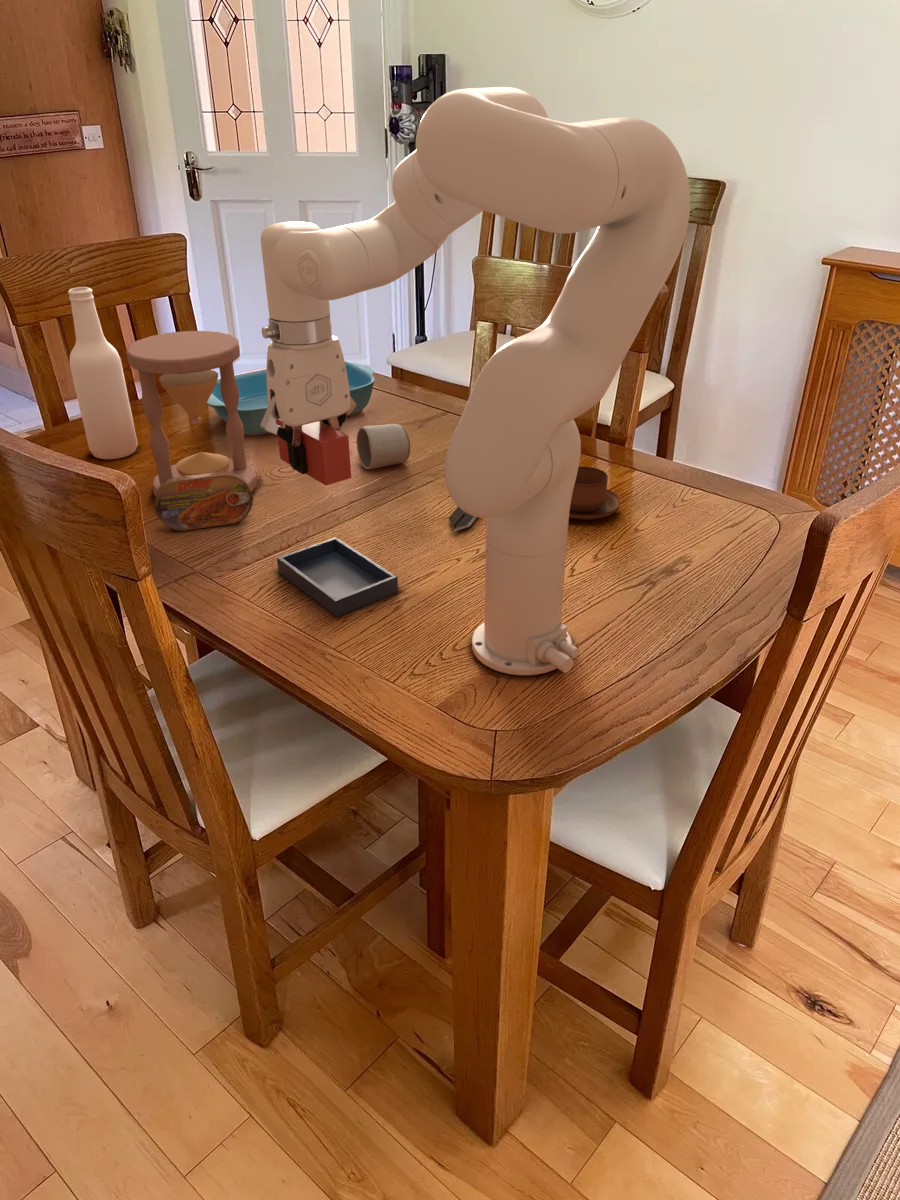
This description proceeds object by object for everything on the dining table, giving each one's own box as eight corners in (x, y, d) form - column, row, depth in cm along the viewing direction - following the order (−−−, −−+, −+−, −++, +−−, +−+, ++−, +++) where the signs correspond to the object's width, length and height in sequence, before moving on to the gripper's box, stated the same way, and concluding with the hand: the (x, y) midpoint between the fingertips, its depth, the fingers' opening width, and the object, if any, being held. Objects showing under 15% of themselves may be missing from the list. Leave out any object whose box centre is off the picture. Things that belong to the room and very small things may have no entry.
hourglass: (249, 462, 164) (230, 326, 151) (265, 500, 150) (247, 353, 137) (150, 476, 159) (122, 336, 146) (158, 516, 145) (128, 365, 132)
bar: (304, 452, 126) (300, 411, 123) (351, 477, 118) (348, 434, 115) (280, 459, 124) (275, 417, 120) (326, 485, 116) (321, 442, 112)
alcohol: (124, 461, 165) (89, 295, 149) (81, 458, 167) (42, 293, 151) (146, 444, 173) (115, 284, 157) (105, 441, 174) (69, 282, 158)
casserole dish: (229, 449, 170) (223, 413, 166) (191, 415, 186) (185, 382, 183) (396, 412, 187) (394, 379, 183) (348, 385, 203) (346, 353, 199)
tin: (159, 533, 140) (149, 484, 136) (159, 525, 143) (150, 476, 138) (256, 522, 143) (249, 473, 139) (254, 513, 146) (247, 466, 142)
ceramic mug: (413, 467, 162) (412, 426, 158) (372, 475, 159) (370, 434, 155) (389, 448, 170) (387, 410, 166) (350, 456, 167) (347, 417, 163)
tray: (398, 591, 124) (397, 576, 123) (336, 616, 119) (335, 601, 118) (337, 550, 135) (336, 536, 133) (278, 571, 129) (276, 557, 128)
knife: (462, 537, 138) (462, 529, 138) (425, 529, 141) (425, 521, 140) (522, 477, 158) (522, 470, 157) (488, 471, 160) (488, 464, 159)
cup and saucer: (554, 491, 153) (556, 457, 149) (624, 499, 150) (627, 465, 146) (538, 520, 143) (540, 485, 140) (613, 530, 140) (616, 494, 137)
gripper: (255, 348, 104) (273, 491, 113) (373, 324, 113) (381, 459, 122) (226, 335, 109) (246, 473, 119) (341, 313, 118) (351, 443, 127)
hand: (314, 464), depth 120 cm, fingers closed on bar, 4 cm apart
